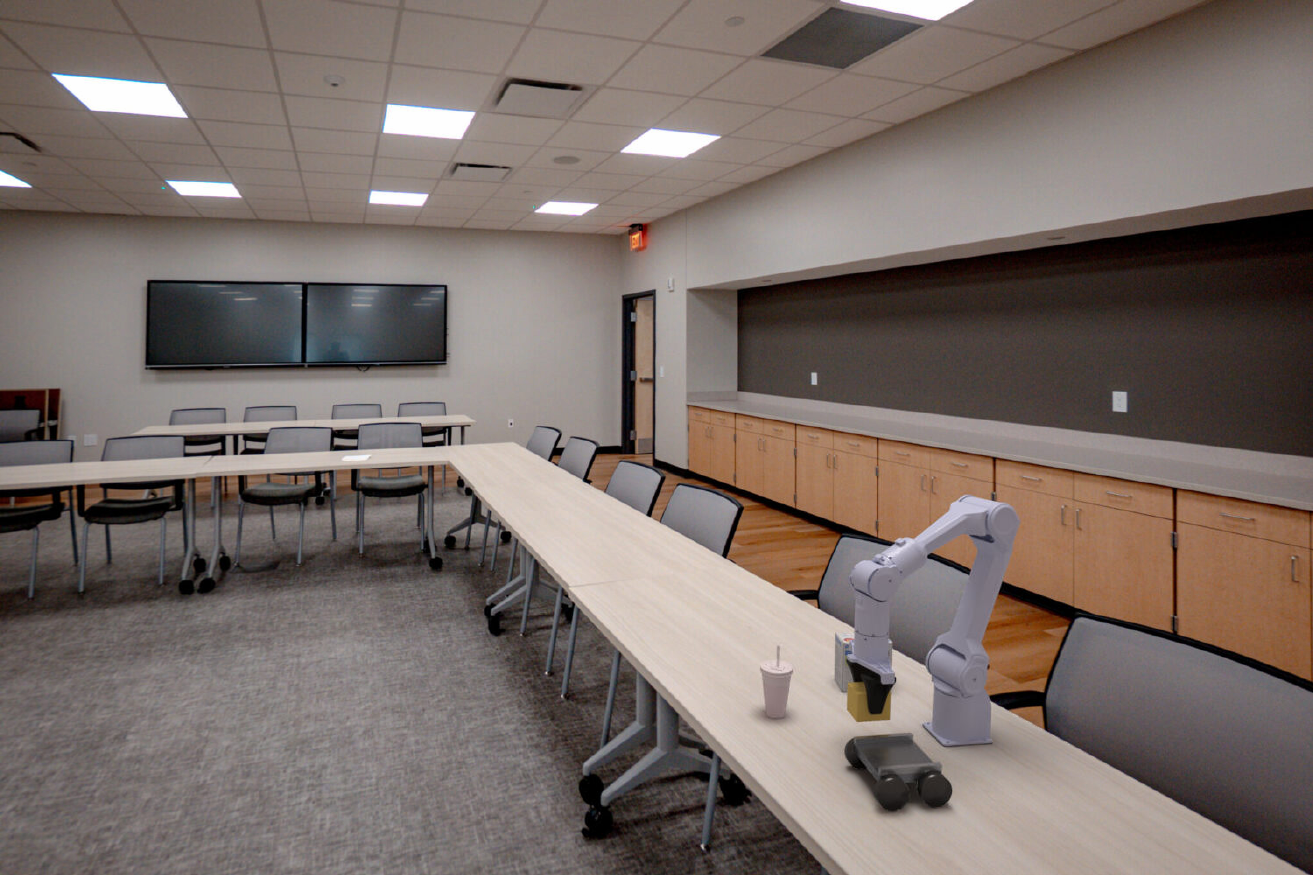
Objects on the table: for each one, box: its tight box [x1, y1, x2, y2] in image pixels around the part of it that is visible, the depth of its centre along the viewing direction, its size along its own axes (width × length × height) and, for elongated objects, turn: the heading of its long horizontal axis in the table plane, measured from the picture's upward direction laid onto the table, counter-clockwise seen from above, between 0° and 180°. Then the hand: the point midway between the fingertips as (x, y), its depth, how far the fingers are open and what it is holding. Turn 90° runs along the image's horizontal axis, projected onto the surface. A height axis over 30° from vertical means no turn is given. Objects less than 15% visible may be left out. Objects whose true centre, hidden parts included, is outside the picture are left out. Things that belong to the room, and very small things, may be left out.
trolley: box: [843, 732, 953, 812], centre depth 117 cm, size 12×13×6 cm
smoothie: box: [759, 644, 794, 720], centre depth 141 cm, size 6×6×14 cm
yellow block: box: [846, 682, 892, 723], centre depth 127 cm, size 6×4×5 cm
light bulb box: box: [834, 631, 893, 693], centre depth 154 cm, size 11×7×11 cm, turn 92°
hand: (869, 706), depth 127 cm, fingers closed on yellow block, 4 cm apart
